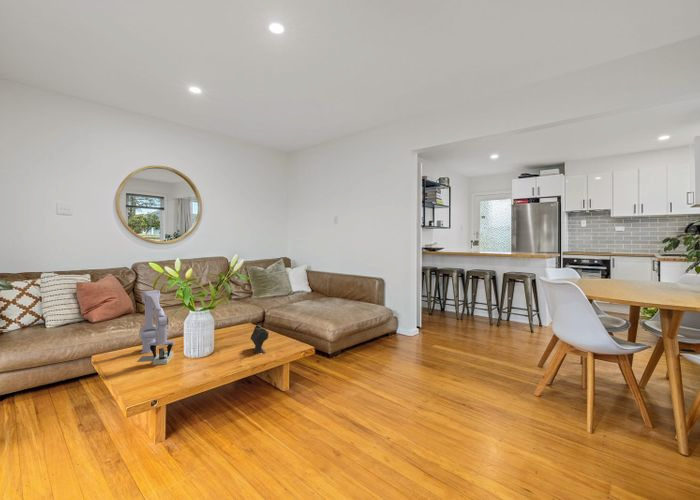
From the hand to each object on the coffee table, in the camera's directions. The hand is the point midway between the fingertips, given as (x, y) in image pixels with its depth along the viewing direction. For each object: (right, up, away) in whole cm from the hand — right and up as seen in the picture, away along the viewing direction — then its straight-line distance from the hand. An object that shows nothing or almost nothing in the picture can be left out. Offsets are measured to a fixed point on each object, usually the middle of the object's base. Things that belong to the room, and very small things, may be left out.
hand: (161, 356), depth 211 cm
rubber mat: (-12, -3, +5) cm, 13 cm away
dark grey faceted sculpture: (+54, -4, +29) cm, 62 cm away
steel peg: (0, -4, 0) cm, 4 cm away
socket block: (-1, -4, +4) cm, 6 cm away
